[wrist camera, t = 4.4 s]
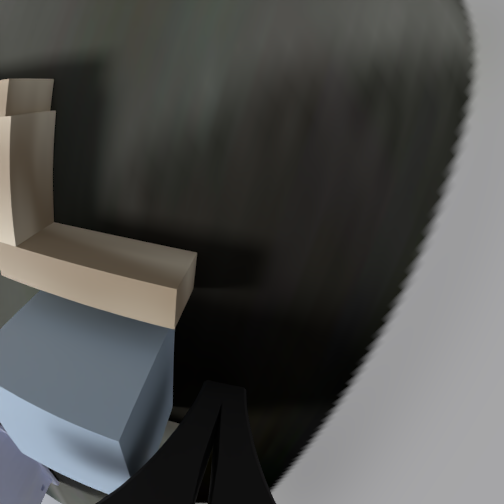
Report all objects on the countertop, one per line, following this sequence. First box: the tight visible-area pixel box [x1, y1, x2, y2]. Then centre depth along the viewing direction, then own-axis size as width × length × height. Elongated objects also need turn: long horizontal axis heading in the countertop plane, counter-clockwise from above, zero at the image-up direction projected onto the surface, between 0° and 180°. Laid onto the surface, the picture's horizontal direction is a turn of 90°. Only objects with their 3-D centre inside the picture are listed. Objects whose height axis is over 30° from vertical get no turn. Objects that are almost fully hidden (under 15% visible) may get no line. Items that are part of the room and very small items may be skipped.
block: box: [0, 290, 175, 494], centre depth 9 cm, size 5×5×5 cm
